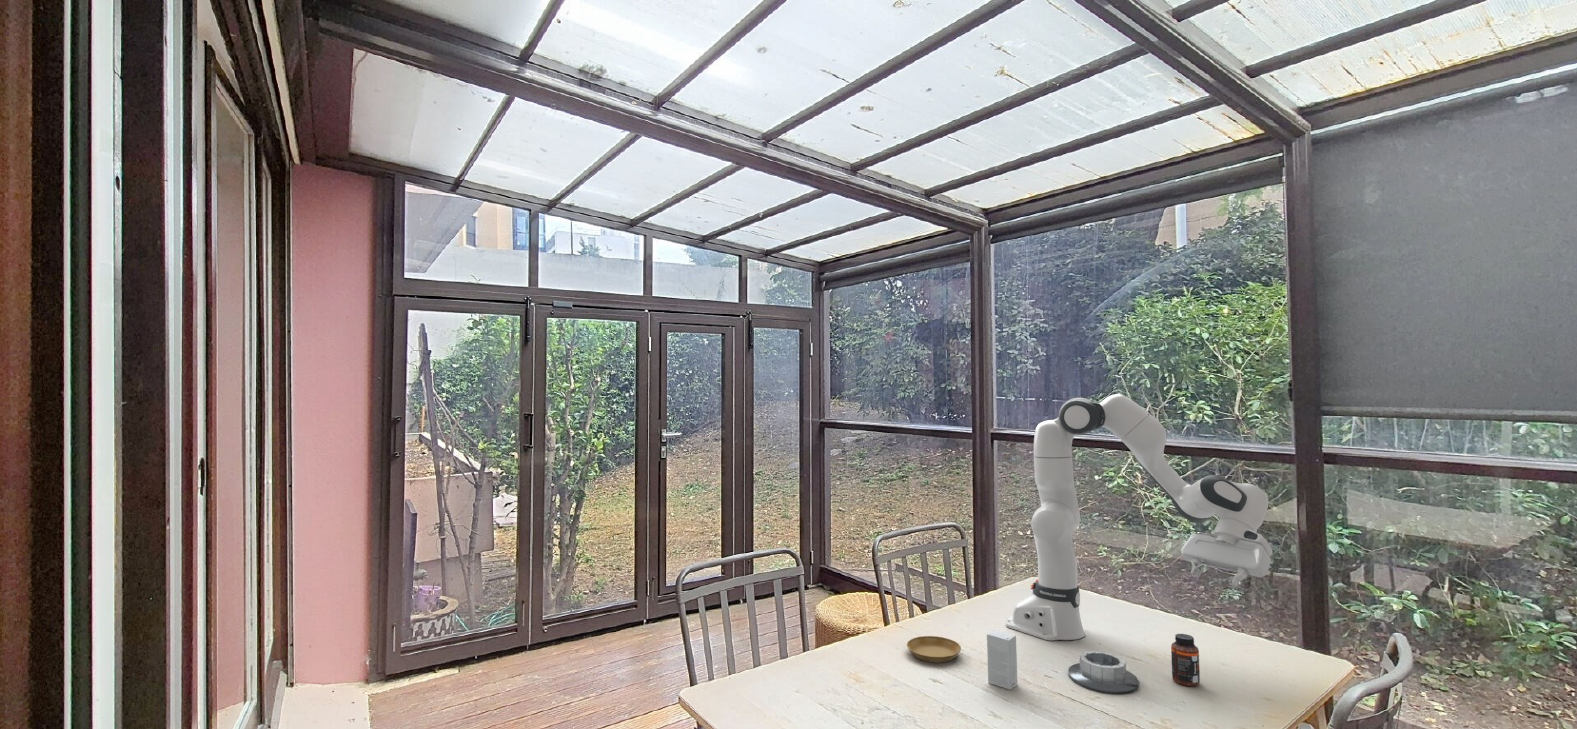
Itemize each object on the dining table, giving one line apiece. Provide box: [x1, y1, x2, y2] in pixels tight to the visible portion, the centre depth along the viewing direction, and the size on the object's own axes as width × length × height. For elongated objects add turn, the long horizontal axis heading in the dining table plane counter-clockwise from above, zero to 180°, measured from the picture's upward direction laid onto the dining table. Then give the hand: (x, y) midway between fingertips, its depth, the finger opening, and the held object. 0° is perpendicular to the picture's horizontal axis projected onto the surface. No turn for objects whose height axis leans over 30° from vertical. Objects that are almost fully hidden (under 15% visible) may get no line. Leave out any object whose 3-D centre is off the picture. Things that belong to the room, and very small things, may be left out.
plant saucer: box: [906, 635, 962, 664], centre depth 180 cm, size 15×15×3 cm
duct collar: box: [1067, 650, 1140, 695], centre depth 164 cm, size 16×16×5 cm
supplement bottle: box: [1170, 633, 1201, 687], centre depth 162 cm, size 6×6×11 cm
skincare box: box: [986, 630, 1018, 690], centre depth 162 cm, size 6×4×12 cm
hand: (1212, 580), depth 169 cm, fingers open, 8 cm apart
